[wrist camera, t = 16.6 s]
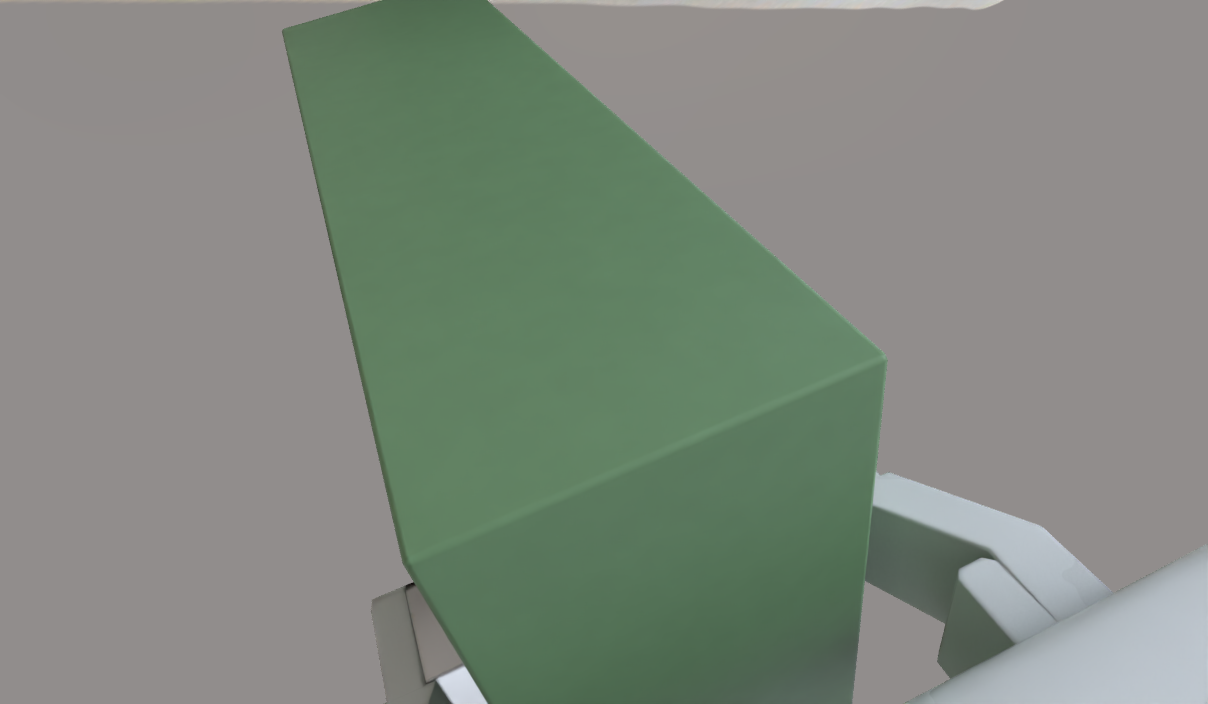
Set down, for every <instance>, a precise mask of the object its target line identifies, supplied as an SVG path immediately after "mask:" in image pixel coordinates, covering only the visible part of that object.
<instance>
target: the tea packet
mask: <svg viewBox="0 0 1208 704" xmlns="http://www.w3.org/2000/svg"><path fill="white" fill-rule="evenodd" d="M282 33H283V37H284V42H285V47H286V51H287V55H288V60H289V64H290V69H291V73H292V78H293V82H294V86H295V91H296V95H297V100H298V104H299V108H300V113H301V117H302V122H303V126H304V130H305V134H306V139H307V144H308V148H309V152H310V157H311V161H312V166H313V170H314V174H315V179H316V183H317V188H318V192H319V196H320V201H321V205H322V209H323V214H324V218H325V223H326V227H327V232H328V236H329V240H330V245H331V249H332V254H333V258H334V262H335V267H336V271H337V276H338V280H339V285H340V289H341V294H342V298H343V302H344V306H345V311H346V315H347V320H348V324H349V329H350V333H351V338H352V342H353V346H354V350H355V355H356V359H357V364H358V368H359V373H360V377H361V382H362V386H363V391H364V395H365V399H366V404H367V408H368V412H369V417H370V421H371V426H372V430H373V434H374V439H375V443H376V448H377V452H378V456H379V461H380V465H381V470H382V474H383V479H384V483H385V488H386V492H387V496H388V501H389V505H390V510H391V514H392V518H393V523H394V527H395V532H396V536H397V540H398V545H399V549H400V553H401V558H402V562H403V565H404V566H405V568H406V570H407V571H408V573H409V575H410V576H411V578H412V580H413V581H414V583H415V585H416V586H417V588H418V590H419V591H420V593H421V595H422V596H423V598H424V600H425V601H426V603H427V605H428V606H429V608H430V609H431V611H432V613H433V614H434V616H435V618H436V619H437V621H438V623H439V624H440V626H441V628H442V629H443V631H444V633H445V634H446V636H447V638H448V639H449V641H450V643H451V644H452V646H453V647H454V649H455V651H456V652H457V654H458V656H459V657H460V659H461V661H462V662H463V664H464V666H465V667H466V669H467V671H468V672H469V674H470V676H471V677H472V679H473V681H474V682H475V684H476V685H477V687H478V689H479V690H480V692H481V694H482V695H483V697H484V699H485V700H486V702H487V704H852V699H853V689H854V680H855V670H856V661H857V651H858V641H859V632H860V622H861V612H862V603H863V593H864V583H865V574H866V564H867V554H868V545H869V535H870V525H871V516H872V506H873V496H874V487H875V477H876V467H877V458H878V448H879V438H880V429H881V428H880V427H881V418H882V409H883V400H884V390H885V380H886V371H887V361H888V360H887V357H886V355H885V353H884V352H882V350H880V349H879V348H878V347H877V346H876V345H875V344H874V343H872V342H871V341H870V340H869V339H868V338H867V337H866V336H865V335H863V334H862V333H861V332H860V331H859V330H858V329H857V328H856V327H854V326H853V325H852V324H851V323H850V322H849V321H848V320H847V319H845V318H844V317H843V316H842V315H841V314H840V313H839V312H837V311H836V310H835V309H834V308H833V307H832V306H831V305H829V303H827V302H826V301H825V300H824V299H823V298H822V297H821V296H819V295H818V294H817V293H816V292H815V291H814V290H813V289H812V288H810V287H809V286H808V285H807V284H806V283H805V282H804V281H803V280H801V279H800V278H799V277H798V276H797V275H796V274H795V273H794V272H792V271H791V270H790V269H789V268H788V267H787V266H786V265H785V264H783V263H782V262H781V261H780V260H779V259H778V258H777V257H776V256H774V255H773V254H772V253H771V252H770V251H769V250H768V249H767V248H765V247H764V246H763V245H762V244H761V243H760V242H759V241H758V240H756V239H755V238H754V237H753V236H752V235H751V234H750V233H749V232H747V231H746V230H745V229H744V228H743V227H742V226H740V224H738V223H737V222H736V221H735V220H734V219H733V218H732V217H730V216H729V215H728V214H727V213H726V212H725V211H724V210H723V209H722V208H720V207H719V206H718V205H717V204H716V203H715V202H714V201H713V200H711V199H710V198H709V197H708V196H707V195H706V194H704V192H702V191H701V190H700V189H699V188H698V187H697V186H695V185H694V184H693V183H692V182H691V181H690V180H689V179H688V178H687V177H685V176H684V175H683V174H682V173H681V172H680V171H679V170H678V169H677V168H675V167H674V166H673V165H672V164H671V163H670V162H669V161H667V160H666V159H665V158H664V157H663V156H662V155H661V154H660V153H658V152H657V151H656V150H655V149H654V148H653V147H652V146H651V145H649V144H648V143H647V142H646V141H645V140H644V139H643V138H641V137H640V136H639V135H638V134H637V133H636V132H635V131H634V130H633V129H631V128H630V127H629V126H628V125H627V124H626V123H625V122H624V121H622V120H621V119H620V118H619V117H618V116H617V115H616V114H615V113H613V112H612V111H611V110H610V109H609V108H607V106H606V105H604V104H603V103H602V102H601V101H600V100H599V99H598V98H597V97H595V96H594V95H593V94H592V93H591V92H590V91H589V90H588V89H586V88H585V87H584V86H583V85H582V84H581V83H580V82H579V81H577V80H576V79H575V78H574V77H573V76H572V75H570V74H569V73H568V72H567V71H566V70H565V69H564V68H563V67H562V66H560V65H559V64H558V63H557V62H556V61H555V60H554V59H553V58H551V57H550V56H549V55H548V54H547V53H546V52H545V51H543V50H542V49H541V48H540V47H539V46H538V45H537V44H535V43H534V42H533V41H532V40H531V39H530V38H529V37H528V36H527V35H526V34H524V33H523V32H522V31H521V30H520V29H519V28H518V27H517V26H515V25H514V24H513V23H512V22H511V21H510V20H509V19H507V18H506V17H505V16H504V15H503V14H502V13H501V12H500V11H498V10H497V9H496V8H495V7H494V6H493V5H492V4H491V3H490V2H488V1H487V0H381V1H378V2H374V3H371V4H368V5H364V6H361V7H357V8H354V9H350V10H347V11H343V12H340V13H337V14H333V15H330V16H326V17H323V18H319V19H316V20H313V21H309V22H306V23H302V24H299V25H295V26H292V27H288V28H285V29H283V30H282Z"/></svg>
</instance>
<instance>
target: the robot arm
mask: <svg viewBox="0 0 1208 704" xmlns="http://www.w3.org/2000/svg"><path fill="white" fill-rule="evenodd" d="M865 581H866V582H868V583H870V584H872V585H874V586H876V587H878V588H880V589H882V590H883V591H885V592H887V593H889V594H891V595H893V596H894V597H896V598H898V599H900V600H902V601H904V602H906V603H908V604H910V605H911V606H913V607H915V608H917V609H919V610H921V611H922V612H924V613H926V614H928V615H930V616H932V617H934V618H936V619H937V620H939V621H941V622H943V623H945V629H944V633H943V637H942V641H941V645H940V649H939V655H938V660H937V662H938V663H939V665H940V666H941V667H942V668H943V670H944V671H945V672H946V674H947V675H948V676H949V677H950V680H948V681H945V682H944V683H942V684H940V685H938V686H936V687H934V688H932V689H930V690H928V691H927V692H925V693H923V694H921V695H919V696H917V697H915V698H913V699H911V700H910V701H907V702H906V703H904V704H1208V544H1206V545H1204V546H1202V547H1200V548H1198V549H1196V550H1195V551H1193V552H1191V553H1189V554H1187V555H1185V556H1183V557H1181V558H1179V559H1177V560H1175V561H1174V562H1172V563H1170V564H1168V565H1166V566H1164V567H1162V568H1160V569H1159V570H1156V571H1155V572H1153V573H1151V574H1149V575H1147V576H1145V577H1143V578H1141V579H1139V580H1137V581H1136V582H1134V583H1132V584H1130V585H1128V586H1126V587H1124V588H1122V589H1120V590H1118V591H1116V592H1115V593H1113V592H1112V591H1111V590H1110V589H1109V588H1108V587H1107V586H1105V585H1104V584H1103V583H1102V582H1101V581H1100V580H1099V579H1098V578H1097V577H1096V576H1095V575H1093V573H1091V572H1090V571H1089V570H1088V569H1087V568H1086V567H1085V566H1084V565H1083V564H1082V563H1081V562H1080V561H1078V560H1077V559H1076V558H1075V557H1074V556H1073V555H1072V554H1071V553H1070V552H1069V551H1068V550H1067V549H1065V548H1064V547H1063V546H1062V545H1061V544H1060V543H1059V542H1058V541H1057V540H1056V539H1055V538H1053V536H1051V535H1050V534H1049V533H1048V532H1047V531H1046V530H1045V529H1044V528H1043V527H1042V526H1040V525H1037V524H1034V523H1031V522H1028V521H1026V520H1023V519H1020V518H1017V517H1014V516H1011V515H1009V514H1005V513H1003V512H1000V511H997V510H994V509H991V508H988V507H986V506H983V505H980V504H977V503H975V502H972V501H969V500H966V499H963V498H960V497H957V496H954V495H952V494H949V493H946V492H943V491H940V490H938V489H935V488H932V487H929V486H926V485H923V484H921V483H918V482H915V481H912V480H909V479H906V478H904V477H901V476H898V475H895V474H892V473H889V472H888V473H885V474H883V475H879V474H878V472H877V471H876V477H875V487H874V496H873V506H872V516H871V525H870V535H869V545H868V554H867V564H866V574H865ZM371 614H372V620H373V625H374V631H375V637H376V642H377V648H378V654H379V660H380V666H381V671H382V676H383V682H384V688H385V694H386V700H387V703H385V704H487V702H486V700H485V699H484V697H483V695H482V694H481V692H480V690H479V689H478V687H477V685H476V684H475V682H474V681H473V679H472V677H471V676H470V674H469V672H468V671H467V669H466V667H465V666H464V664H463V662H462V661H461V659H460V657H459V656H458V654H457V652H456V651H455V649H454V647H453V646H452V644H451V643H450V641H449V639H448V638H447V636H446V634H445V633H444V631H443V629H442V628H441V626H440V624H439V623H438V621H437V619H436V618H435V616H434V614H433V613H432V611H431V609H430V608H429V606H428V605H427V603H426V601H425V600H424V598H423V596H422V595H421V593H420V591H419V590H418V588H417V586H416V585H415V583H414V582H413V583H411V584H408V585H406V586H403V587H401V588H399V589H396V590H394V591H391V592H389V593H387V594H384V595H382V596H379V597H377V598H375V599H373V600H372V606H371Z"/></svg>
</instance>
